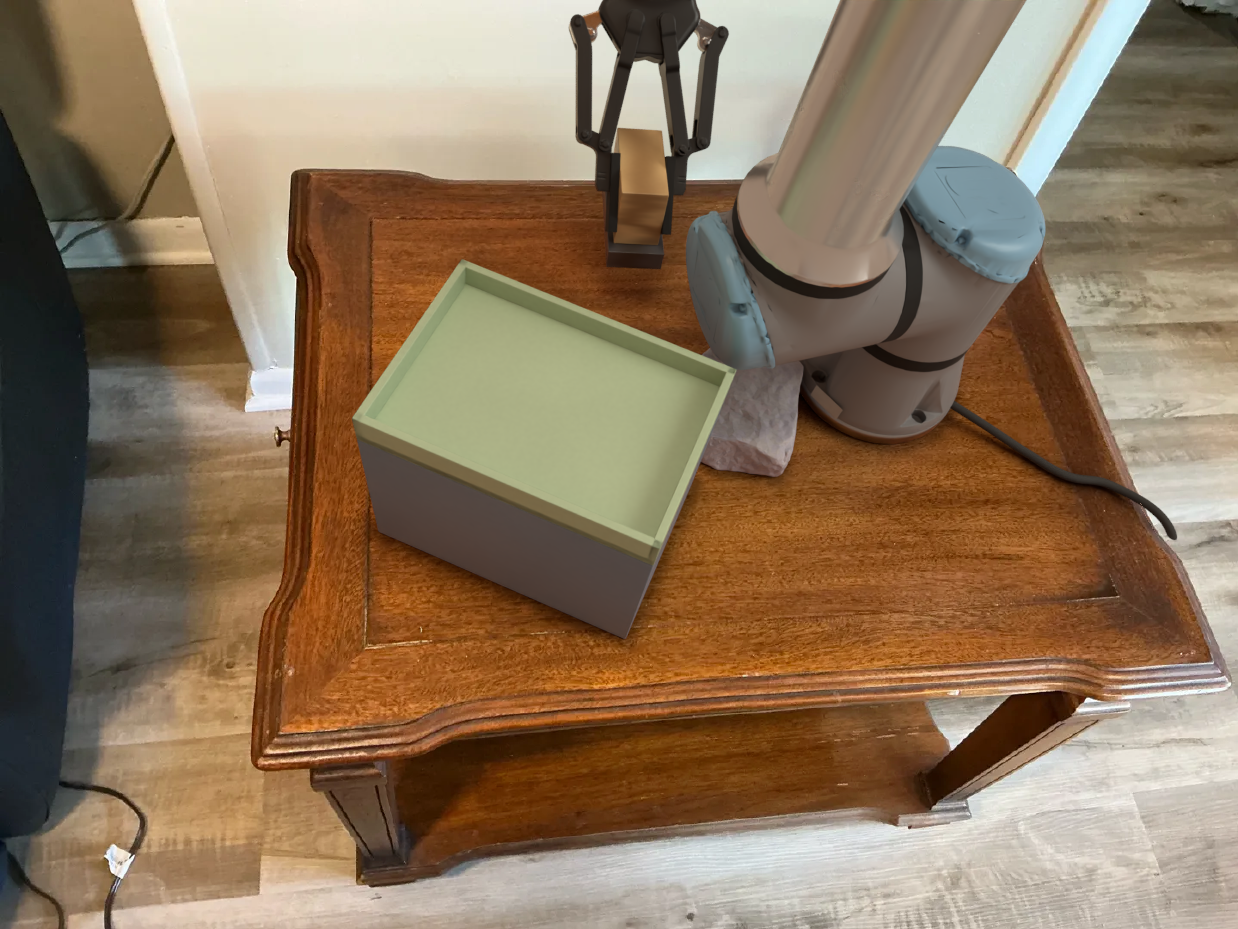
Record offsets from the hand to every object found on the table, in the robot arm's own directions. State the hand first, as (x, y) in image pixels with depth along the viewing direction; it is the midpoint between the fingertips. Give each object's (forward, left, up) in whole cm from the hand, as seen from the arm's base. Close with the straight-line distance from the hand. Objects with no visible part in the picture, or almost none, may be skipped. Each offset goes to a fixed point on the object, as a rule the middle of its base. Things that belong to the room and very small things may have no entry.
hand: (637, 232), depth 82 cm
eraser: (+2, -3, -3) cm, 5 cm away
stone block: (-14, +9, -8) cm, 18 cm away
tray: (-2, +24, +6) cm, 25 cm away
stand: (-2, +24, -8) cm, 26 cm away
